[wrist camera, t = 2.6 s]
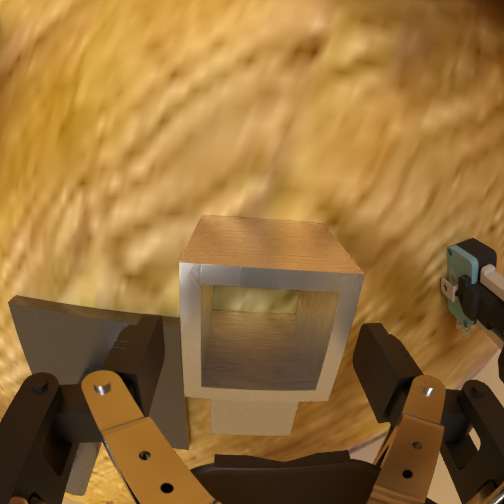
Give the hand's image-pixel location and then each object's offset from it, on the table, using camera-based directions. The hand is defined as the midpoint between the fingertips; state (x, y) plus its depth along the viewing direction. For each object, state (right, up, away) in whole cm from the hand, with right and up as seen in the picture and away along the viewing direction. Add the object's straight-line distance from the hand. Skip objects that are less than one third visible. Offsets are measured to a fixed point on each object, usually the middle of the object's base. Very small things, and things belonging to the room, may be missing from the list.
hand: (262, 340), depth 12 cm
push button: (+13, +1, +5) cm, 14 cm away
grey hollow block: (0, +1, +5) cm, 5 cm away
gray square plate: (-11, -5, +7) cm, 14 cm away
